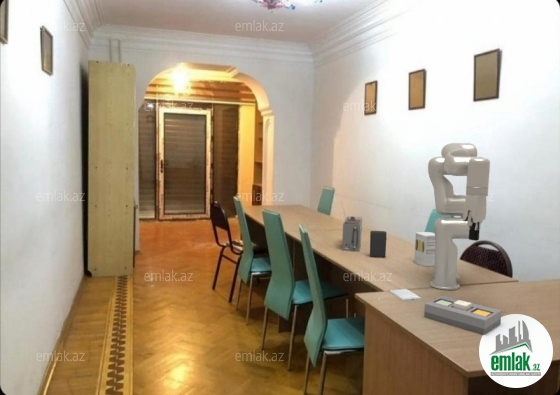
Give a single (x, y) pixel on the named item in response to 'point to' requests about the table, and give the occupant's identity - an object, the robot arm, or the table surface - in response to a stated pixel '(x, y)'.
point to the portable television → (352, 233)
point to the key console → (463, 315)
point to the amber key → (482, 313)
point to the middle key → (462, 305)
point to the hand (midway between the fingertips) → (473, 239)
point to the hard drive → (405, 295)
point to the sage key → (444, 302)
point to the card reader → (378, 244)
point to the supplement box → (425, 249)
